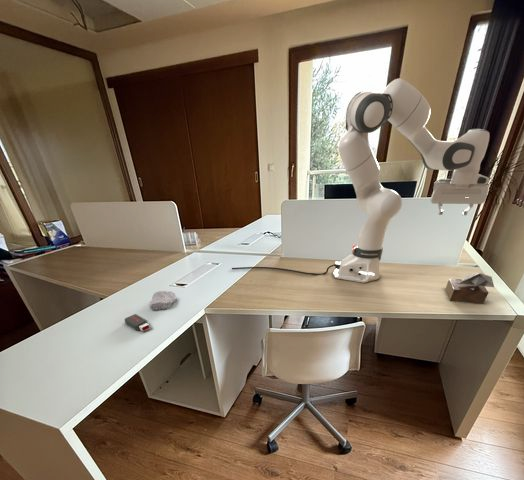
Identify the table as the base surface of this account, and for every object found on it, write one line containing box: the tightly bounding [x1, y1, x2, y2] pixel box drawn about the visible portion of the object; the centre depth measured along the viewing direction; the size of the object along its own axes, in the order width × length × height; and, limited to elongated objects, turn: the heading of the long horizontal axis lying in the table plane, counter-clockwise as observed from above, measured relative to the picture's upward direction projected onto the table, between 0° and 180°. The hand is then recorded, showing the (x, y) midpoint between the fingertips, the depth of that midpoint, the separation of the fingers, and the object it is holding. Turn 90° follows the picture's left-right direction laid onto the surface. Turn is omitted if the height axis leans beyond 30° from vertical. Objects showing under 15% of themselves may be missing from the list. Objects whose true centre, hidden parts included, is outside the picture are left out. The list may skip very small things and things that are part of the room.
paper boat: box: [460, 272, 495, 290], centre depth 114 cm, size 12×6×9 cm
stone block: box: [148, 290, 177, 311], centre depth 126 cm, size 12×5×10 cm
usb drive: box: [124, 313, 151, 333], centre depth 112 cm, size 5×12×3 cm, turn 48°
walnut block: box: [444, 278, 490, 305], centre depth 119 cm, size 12×12×5 cm
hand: (452, 214), depth 125 cm, fingers open, 8 cm apart
